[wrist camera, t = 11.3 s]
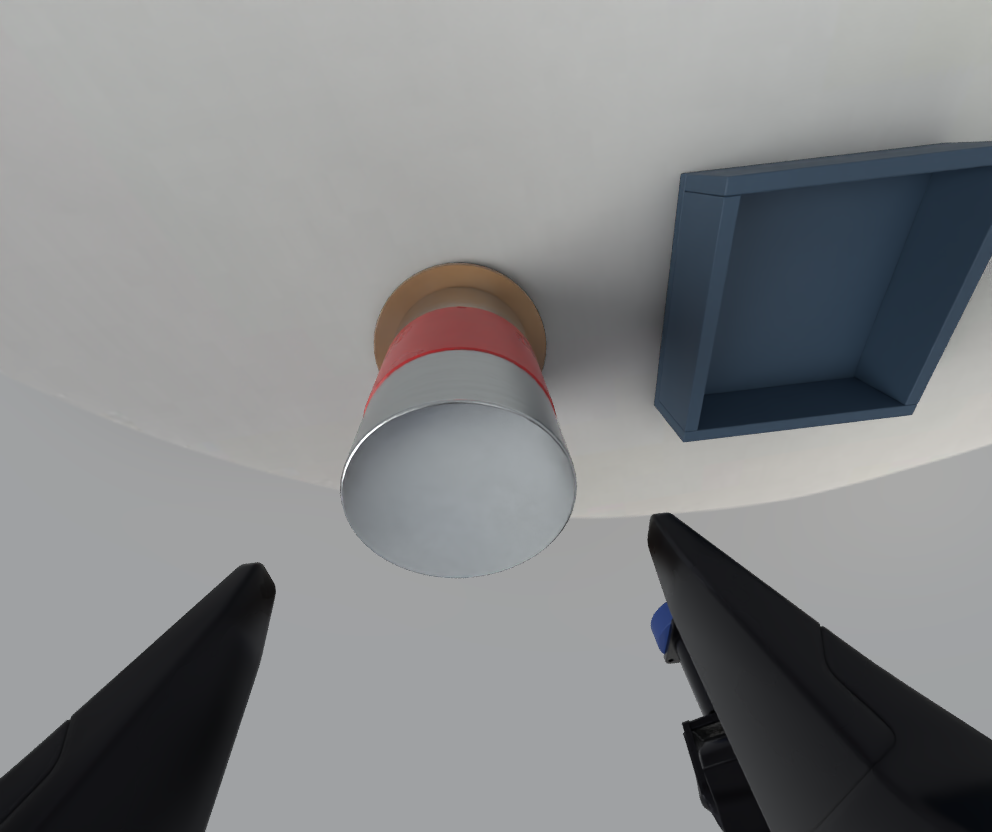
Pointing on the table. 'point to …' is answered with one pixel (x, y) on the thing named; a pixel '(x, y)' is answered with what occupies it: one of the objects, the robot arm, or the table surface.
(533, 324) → the coaster
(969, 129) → the table surface
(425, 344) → the can
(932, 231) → the crate
